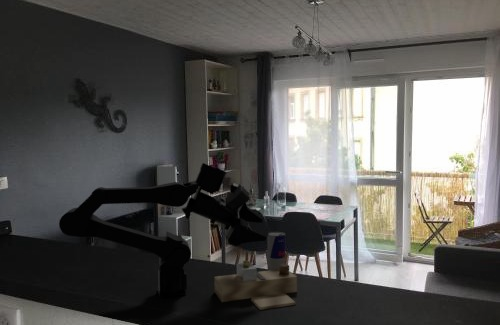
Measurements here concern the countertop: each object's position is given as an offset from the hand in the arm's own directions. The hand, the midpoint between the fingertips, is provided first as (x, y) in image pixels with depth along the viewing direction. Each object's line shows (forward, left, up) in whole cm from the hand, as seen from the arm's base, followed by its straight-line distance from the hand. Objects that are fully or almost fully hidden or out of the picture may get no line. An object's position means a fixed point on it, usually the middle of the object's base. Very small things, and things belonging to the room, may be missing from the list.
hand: (264, 229), depth 110 cm
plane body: (-4, -5, -15) cm, 16 cm away
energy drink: (+6, +6, -15) cm, 18 cm away
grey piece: (-7, -5, -11) cm, 14 cm away
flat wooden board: (-3, -13, -15) cm, 20 cm away
